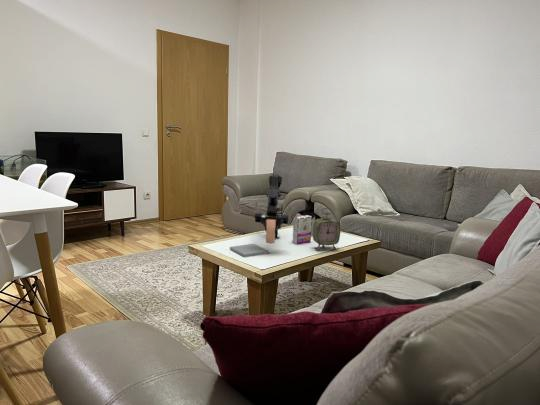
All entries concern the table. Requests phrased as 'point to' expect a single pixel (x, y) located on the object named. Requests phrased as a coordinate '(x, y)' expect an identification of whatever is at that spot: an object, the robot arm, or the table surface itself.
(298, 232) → the candy bar box
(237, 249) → the slate board
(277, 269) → the table surface
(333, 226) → the tabletop clock
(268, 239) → the terracotta canister
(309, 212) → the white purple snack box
